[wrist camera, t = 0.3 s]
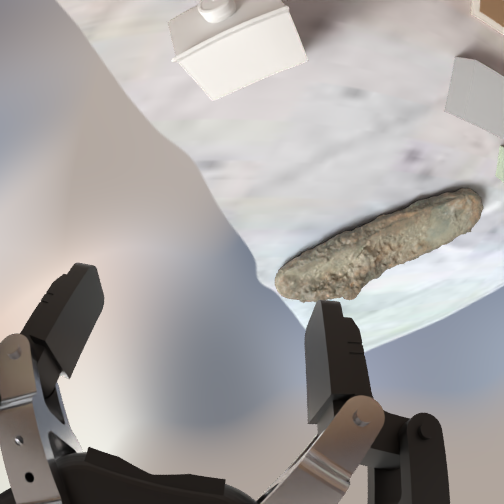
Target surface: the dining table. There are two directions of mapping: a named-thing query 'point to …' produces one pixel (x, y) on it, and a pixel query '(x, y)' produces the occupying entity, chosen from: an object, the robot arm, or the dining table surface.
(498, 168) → the sage block
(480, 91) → the base block
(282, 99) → the dining table surface
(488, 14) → the swatch
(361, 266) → the long grey stone
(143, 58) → the dining table surface
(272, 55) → the milk carton
